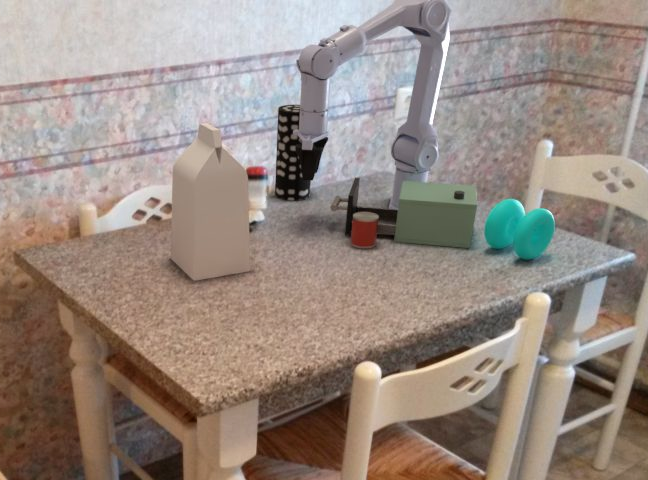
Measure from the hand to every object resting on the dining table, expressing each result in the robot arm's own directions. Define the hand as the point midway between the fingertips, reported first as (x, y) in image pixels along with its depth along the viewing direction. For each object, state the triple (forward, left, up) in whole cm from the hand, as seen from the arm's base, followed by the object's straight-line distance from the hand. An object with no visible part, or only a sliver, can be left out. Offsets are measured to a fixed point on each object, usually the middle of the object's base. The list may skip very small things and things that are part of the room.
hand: (310, 176), depth 171 cm
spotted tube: (-19, -6, -11) cm, 23 cm away
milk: (+28, -14, -11) cm, 33 cm away
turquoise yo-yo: (+7, +43, -11) cm, 44 cm away
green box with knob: (0, +27, -10) cm, 28 cm away
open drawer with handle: (0, +14, -10) cm, 18 cm away
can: (+10, +13, -10) cm, 19 cm away
